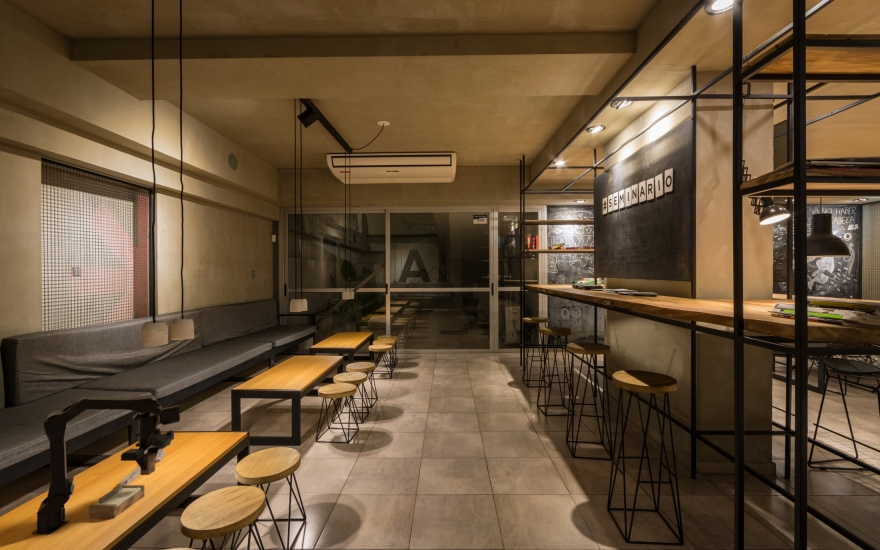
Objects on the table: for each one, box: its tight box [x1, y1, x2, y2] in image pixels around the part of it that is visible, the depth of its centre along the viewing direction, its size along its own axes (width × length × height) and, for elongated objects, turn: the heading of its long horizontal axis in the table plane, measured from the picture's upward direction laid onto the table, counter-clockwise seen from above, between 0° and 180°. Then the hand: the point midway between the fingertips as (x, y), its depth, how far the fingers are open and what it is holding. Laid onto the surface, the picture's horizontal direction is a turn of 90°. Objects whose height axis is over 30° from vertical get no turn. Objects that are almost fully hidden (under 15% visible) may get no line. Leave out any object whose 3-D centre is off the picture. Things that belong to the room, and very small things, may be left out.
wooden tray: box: [88, 484, 145, 520], centre depth 141 cm, size 14×9×4 cm, turn 1°
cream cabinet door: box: [93, 485, 141, 506], centre depth 141 cm, size 11×8×2 cm
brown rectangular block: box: [140, 453, 156, 476], centre depth 146 cm, size 3×3×7 cm
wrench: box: [118, 449, 167, 486], centre depth 169 cm, size 8×2×30 cm
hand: (147, 468), depth 146 cm, fingers closed on brown rectangular block, 3 cm apart
